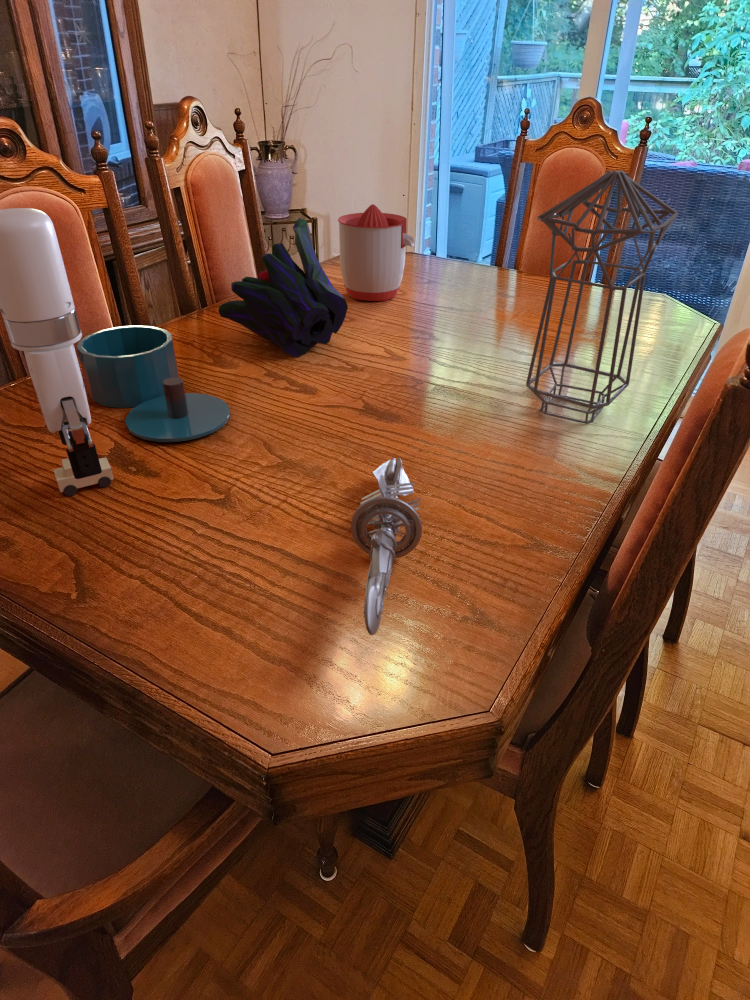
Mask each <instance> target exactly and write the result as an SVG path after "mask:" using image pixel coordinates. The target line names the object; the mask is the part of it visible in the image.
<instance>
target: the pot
mask: <svg viewBox="0 0 750 1000" xmlns="http://www.w3.org/2000/svg"><path fill="white" fill-rule="evenodd" d="M76 351H77V354H78V359H79V363H80V366H81V370H82V374H83V378H84V382H85V385H86V390H87V394H88V395H89V397H90V400H92V402H94V403H96V404H98V405H100V406H103V407H107V408H115V409H131V408H132V409H133V408H135V407H136V406H138V405H140V404H141V403H143V402H146V401H148V400H151V399H154V398H157V397H161V396H165V394H164V389H163V383H162V382H163V380H165V379H167V378H172V377H178V378H180V374H179V368H178V363H177V357H176V350H175V345H174V339H173V334H172V333H171V332H169V331H168V330H166V329H165V328H160V327H157V326H151V325H123V326H115V327H110V328H106V329H101V330H99V331H95V332H93V333H90V334H87V335H86V336H84V337H83V338H81V339H80V340H79V341H78V342H77V346H76Z"/></svg>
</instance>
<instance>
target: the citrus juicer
mask: <svg viewBox="0 0 750 1000" xmlns="http://www.w3.org/2000/svg"><path fill="white" fill-rule="evenodd" d="M407 220H408V219H407V218H406V216H403V215H399V214H395V213H388V212H382V211H381V210H380V209H379V207H378V206H377V205H375V204H374V203H373V204H371V205H369V206H368V207H367V208H366V209H365V210H364V211H363V212H355V213H348V214H344V215H341V216H339V217H338V219H337V221H338V226H339V227H338V234H339V235H338V237H339V239H338V240H339V265H340V271H341V276H342V281H343V283H344V284H343V285H344V288H345V290H346V293H347V295H348V296H349V297H350V298H352V299H353V300H359V301H367V302H368V301H369V302H371V301H372V302H377V301H378V302H386V301H388V300H391V299H393V298H395V297H396V296H397V294H398V292H399V291H400V288H401V284H402V280H403V276H404V271H405V264H406V247H411V248H413V247H415V244H416V243H415V241H414V238H413V236H411V235H410V234H407V227H408V226H407V223H408V222H407Z"/></svg>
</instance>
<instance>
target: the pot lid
mask: <svg viewBox="0 0 750 1000" xmlns="http://www.w3.org/2000/svg"><path fill="white" fill-rule="evenodd" d="M162 383H163V389H164V394H165V396H161V397H157V398H154V399H151V400H148V401H146V402H143V403H141V404H140V405H138V406H136V407H132V409H131V410H130V411H129V412H127V415H126V417H125V420H124V421H125V426H126V430H127V431H128V432H129V433H130V434H131V435H133V436H134V437H136V438H139V439H141V440H144V441H148V442H155V443H156V442H157V443H177V442H186V441H191V440H195V439H199V438H204V437H206V436H208V435H211V434H213V433H215V432H217V431H219V430H220V429H221V428H223V427H224V426H225V425H226V424H227V423H228V422H229V420H230V417H231V409H230V406H229V404H228V403H227V402H226V401H225V400H223V399H221V398H219V397H217V396H214V395H211V394H206V393H199V392H198V393H197V392H186V390H185V389H186V388H185V384H184V379H183V378H181V377H179V378H178V377H172V378H167V379H165V380H163V382H162Z"/></svg>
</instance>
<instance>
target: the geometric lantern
mask: <svg viewBox="0 0 750 1000" xmlns="http://www.w3.org/2000/svg"><path fill="white" fill-rule="evenodd" d="M616 184H617V187H616ZM615 187H616V188H617V189H616V208H614V207H611V206H609V204H610V200H611V198H612V195H613V192H614V189H615ZM608 188H609V189H608ZM607 189H608V191H607ZM606 191H607V195H606V197H605V199H604V203H603V204H600V203H597V202H598V201H599V200H600V199H601V197H602V196H603V195H604V193H605V192H606ZM641 193H642V194H643V195H645V196H646V197H647V198H649V199H651V200H652V201H653V202H654V203H656V204H657V205H659V206H660V207H661V208H662V209H652V208H651V206H650V205H649V204H648V202H647V201H646V200H645V198H644V197H643V195H642V194H641ZM595 195H596V196H595ZM622 195H623V197H624V199H625V202H626V204H627V207H625V206H624V207H622ZM594 196H595V197H594ZM593 197H594V199H593V200H592V201H589V200H590V199H591V198H593ZM581 204H582V205H583V206H584V207H585V208H586V209H585V211H584V212H583V213H582V215H580V217H579V218H578V220H577V221H576V222H575V221H572V217H573V214H574V211H575V209H576V208H577V207H579V206H580V205H581ZM596 209H600V210H601V212H600V213H599V211H597V210H596ZM590 212H591V213H592V214H593V215H594V216H595V217H596V218H598V220H597V223H596V226H595V228H594V229H591V228H586V227H581V226H580V225H581V224H582V223H583V222H584V220H585V219H586V217H587V216H588V215H589V213H590ZM606 212H611V213H614V214H616V215H615V217H614V220H613V223H612V224H611V222H609V221H608V220H607V219H606V218H605V215H606ZM621 212H624V213H630V215H631V218H632V220H633V222H632V225H631V228H626V229H625V228H617V227H616V224H617V222H618V219H619V216H620V214H621ZM649 215H650V217H651V219H650V217H649ZM657 215H658V216H657ZM669 215H670V216H669ZM565 216H567V218H566V219H565ZM667 216H669V217H668V218H667V219H666V220H665V221H664V222H662V221H661V220H662V219H663V218H664V219H665V218H666V217H667ZM678 216H679V213H678V211H677V210H675V209H674V208H672V207H671V206H670V205H668V204H667V203H666V202H664V201H663V200H661V199H660V198H658V197H657V196H656V195H654V194H653V193H652V192H650V191H648V189H646V188H645V187H643V186H642V185H640V184H639V183H637V182H636V181H635V180H633V179H632V178H631V177H629V176H628V175H627V174H626V173H625V171H623V170H617V169H615V170H612V171H611V170H607V171H606V172H605V173H604V174H603V175H601V176H599V178H597V179H596V180H594V181H593V182H591V183H589V184H587V185H586V186H584V187H583V188H581V189H580V190H578V191H577V192H575V193H573V194H572V195H570V196H569V197H566V198H565V199H564V200H562V201H560V202H559V203H557V204H556V205H554V206H552V207H550V208H549V209H548V210H546V211H545V212H543V213H541V214H539V215H538V216H537V217H536V219H537V220H539V221H540V222H541V223H544V224H545V226H546V227H547V228H548V229H549V230H550V231H551V235H552V237H551V247H550V260H549V273H548V275H549V282H548V286H547V289H546V290H547V291H546V295H545V300H544V303H543V307H542V312H541V317H540V321H539V325H538V329H537V334H536V339H535V342H534V347H533V351H532V355H531V360H530V365H529V368H528V374H527V378H526V383H525V386H526V387H527V388H528V389H529V390H530V391H531V393H532V394H533V395H535V397H537V398H538V399H539V400H540V401H541V406H540V409H539V412H540V413H542V414H543V415H546V416H551V417H554V418H557V419H558V418H559V419H564V420H568V421H571V422H576V423H580V424H584V425H588V424H592V423H594V422H595V420H596V419H597V417H598V416H599V414H600V413H601V411H602V410H603V409H604V408H605V407H609V406H610V405H611V403H613V402H614V400H616V399H617V398H618V397H619V396H620V395H621V394H622V392H624V391H625V390H626V389H627V387H629V385H630V380H631V374H632V367H633V361H634V354H635V347H636V341H637V336H638V328H639V322H640V315H641V309H642V300H643V296H644V289H645V282H646V276H647V275H646V272H647V270H648V267H649V265H650V262H651V260H652V258H653V255H654V253H655V251H656V249H657V247H658V246H659V245H660V243H661V241H662V239H663V238H664V237H665V235H666V233H667V232H668V230H669V229H670V228H671V226H672V225H673V224H674V222H675V220H676V219H677V217H678ZM640 217H643V219H644V221H645V223H643V224H641V222H640V220H639V218H640ZM559 218H560V219H559ZM602 223H603V224H604V225H605V226H606V227H607V228H606V229H605V228H604V229H603V228H601V226H602ZM556 224H557V225H556ZM654 224H656V225H654ZM558 225H559V227H558ZM563 226H564V227H563ZM569 227H571V233H570V232H568V231H569ZM646 228H649V230H645V229H646ZM657 231H659V232H658V236H657V238H656V240H655V237H656V232H657ZM576 232H579V233H583V234H589V235H591V247H584V246H583V247H581V246H580V247H578V246H577V245H576V244H575V239H576V238H575V236H576V235H575V233H576ZM597 234H601V235H602V234H603V235H602V237H601V238H600V239H599V240H598V241H597V243H596V244H595V242H596V241H595V239H596V235H597ZM609 234H611V235H612V234H613V235H620V234H621V235H623V236H621V237H618V238H615V239H614V240H611V241H609V242H606V243H604V244H603V242H604V241H605V239H606V238H607V237H608V235H609ZM641 234H648V235H649V236H648V241H647V248H646V252H645V254H644V255H643V257H642V254H641V251H640V248H639V245H638V241H637V237H636V236H639V235H641ZM557 237H561V238H562V239H563V240H564V241H565V243H567V244H568V245H569V247H571V251H573V254H572V255H571V257H570V258H569V259H568V260H567V262H565V263H563V264H561V265H560V266H558V267H556V268H554V263H555V262H554V261H555V250H556V249H555V248H556V238H557ZM632 238H633V242H634V245H635V249H636V253H637V255H638V259H639V263H638V265H637V266H635V267H634V266H629V265H622V264H614V263H609V262H603V260H602V257H601V255H600V251H603V250H604V249H607V248H610V247H613V246H615V245H617V244H619V243H621V242H624V241H626V240H629V239H632ZM578 253H588V254H587V255H586V257H585V258H584V259H580V256H579V254H578ZM593 254H594V255H595V258H596V260H597V261H594V260H589V259H590V258H591V257H592V255H593ZM574 257H576V259H574ZM573 259H574V260H573ZM644 262H645V263H644ZM570 264H572V265H571V268H570V273H569V278H567V277H562V276H561V274H562V273H563V272H564V271H565V270H566V268H567V267H568V265H570ZM589 264H592V265H598V266H599V267H600V269H601V272H602V274H603V277H604V279H605V282H606V284H607V285H606V284H602V283H601V284H600V283H595V282H589V281H586V275H587V271H588V265H589ZM577 265H584V266H583V270H582V274H581V279H580V280H579V279H574V276H575V272H576V267H577ZM606 267H612V268H619V269H626V270H633V273H632V274H631V275H630V277H629V279H628V281H626V283H625V285H613V284H612V281H611V279H610V276H609V273H608V272H607V269H606ZM559 270H560V271H559ZM558 271H559V272H558ZM556 272H558V274H556ZM637 272H638V273H637ZM636 274H637V277H635V276H636ZM633 278H634V279H633ZM557 280H559V281H564V282H568V283H567V285H566V286H567V287H566V291H565V295H564V299H563V304H562V309H561V313H560V317H559V322H558V326H557V330H556V335H555V338H554V343H553V348H552V351H551V356H550V360H549V364H548V365H547V366H545V368H543V369H542V365H543V359H544V353H545V347H546V343H547V342H546V341H547V336H548V332H549V331H548V330H549V326H550V319H551V313H552V308H553V301H554V297H555V289H556V285H557ZM572 283H575V284H579V288H578V293H577V297H576V298H577V299H576V303H575V309H574V313H573V318H572V323H571V328H570V333H569V338H568V343H567V348H566V352H565V358H564V362H554V361H555V357H556V353H557V349H558V345H559V340H560V336H561V331H562V328H563V322H564V319H565V315H566V310H567V306H568V301H569V297H570V293H571V290H572V289H571V288H572ZM633 284H635V287H634V290H633V296H632V301H631V306H630V310H629V315H628V320H627V324H626V329H625V334H624V337H623V338H624V339H623V344H622V348H621V352H620V358H619V363H618V367H617V372H616V373H615V368H616V362H617V355H618V349H619V342H620V337H621V330H622V323H623V316H624V310H625V304H626V296H627V290H628V288H629V287H630V286H632V285H633ZM585 285H586V286H592V287H596V288H597V287H598V288H603V289H609V291H608V295H607V301H606V306H605V311H604V319H603V323H602V329H601V334H600V341H599V347H598V352H597V356H596V357H597V358H596V362H595V363H596V364H595V368H594V369H593V368H589V367H584V366H581V365H575V364H571V363H568V362H569V358H570V353H571V348H572V344H573V340H574V334H575V330H576V325H577V319H578V314H579V310H580V305H581V300H582V295H583V291H584V286H585ZM614 291H621V297H620V302H619V303H620V304H619V310H618V317H617V322H616V330H615V337H614V342H613V343H614V344H613V348H612V349H613V350H612V357H611V364H610V370H609V372H606V371H602V370H600V368H601V362H602V356H603V351H604V344H605V339H606V335H607V334H606V333H607V328H608V322H609V317H610V311H611V304H612V298H613V292H614ZM636 303H637V304H636ZM635 309H636V310H635ZM634 314H635V316H634ZM634 317H635V318H634ZM633 318H634V324H633V330H632V336H631V337H632V338H631V344H630V352H629V358H628V364H627V372H626V378H623V376H622V375H621V374H622V369H623V365H624V359H625V356H626V351H627V346H628V342H629V337H630V332H631V327H632V323H633ZM542 331H543V333H542ZM541 336H542V338H541ZM540 341H541V344H540ZM539 345H540V350H539V356H538V362H537V368H536V372H535V376H534V377H532V376H533V370H534V367H535V362H536V357H537V353H538V349H539ZM554 367H555V368H556V367H560V368H561V375H560V381H559V383H558V382H557V378H556V375H555V372H554V370H553V368H554ZM565 368H571V369H574V370H579V371H582V372H588V373H593V374H594V375H593V381H592V387H591V389H590V388H585V387H580V386H575V385H574V386H573V385H568V384H563V382H564V376H565V375H564V374H565ZM547 371H549V372H550V374H551V377H552V380H553V383H554V385H553V386H552V388H550V390H549V391H545V390H541V389H539V388H538V387H539V382H540V377H542V376H543V375H544V374H545V373H547ZM599 375H601V376H606V377H608V383H607V385H606V386H605V387H604V388H603V389H602V390H601V391H600V390H597V384H598V378H599ZM617 379H618V380H619V381H620V382H621V383H622V384H621V385H619V386H618V387H615V388H614V389H612V387H613V383H614V382H615V381H616V380H617ZM533 383H534V385H532V384H533ZM557 387H559V390H558V394H556V393H557V392H556V391H557ZM563 387H564V388H567V389H574V390H577V391H584V392H589V393H590V398H589V400H588V399H582V398H577V397H573V396H569V395H565V394H562V389H563ZM605 392H606V393H605ZM613 393H615V394H613ZM596 394H598V396H597V401H595V397H596V396H595V395H596ZM612 394H613V395H612ZM611 395H612V396H611ZM543 396H544V397H543ZM548 398H549V399H548ZM554 399H557V400H560V401H563V402H567V403H571V404H574V405H577V406H579V407H580V406H581V407H584V408H588V409H587V410H584V409H581V408H575V407H571V406H567V405H563V404H559V403H555V402H552V400H554ZM549 406H554V407H558V408H563V409H566V410H569V411H574V412H578V413H583V414H585V418H584V420H581V419H577V418H572V417H568V416H565V415H560V414H556V413H551V412H548V407H549ZM589 415H591V417H590V420H589Z"/></svg>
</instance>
